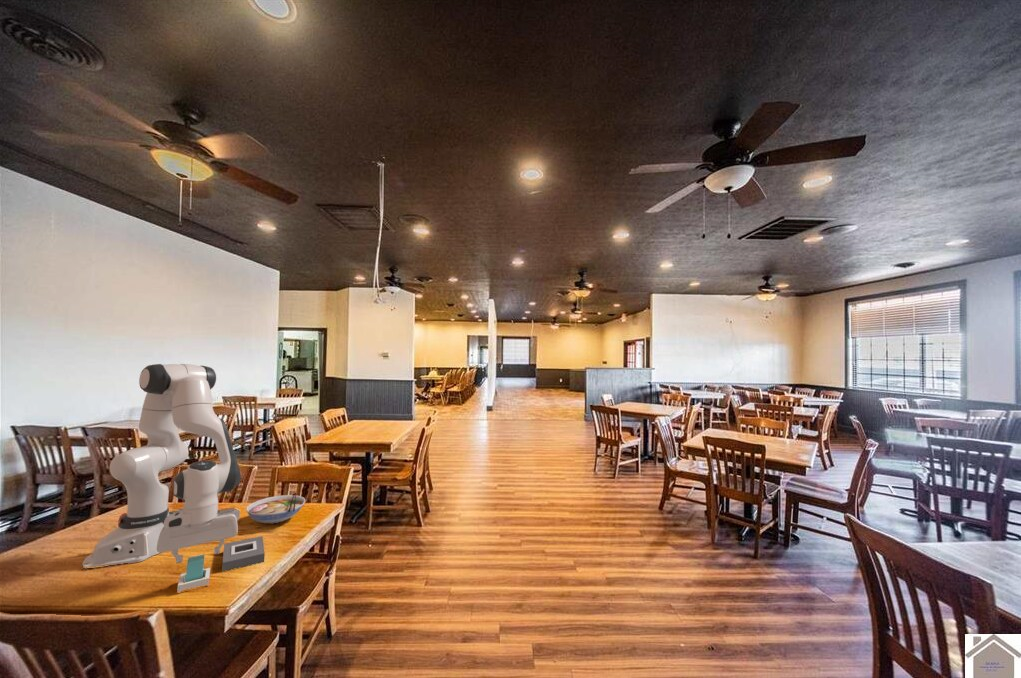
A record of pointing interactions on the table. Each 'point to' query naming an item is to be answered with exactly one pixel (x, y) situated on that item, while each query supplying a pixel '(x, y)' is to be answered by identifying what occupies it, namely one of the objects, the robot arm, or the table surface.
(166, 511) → the robot arm
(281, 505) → the ramen bowl
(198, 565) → the plug
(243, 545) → the socket block
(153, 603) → the table surface
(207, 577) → the white square frame
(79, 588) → the table surface
